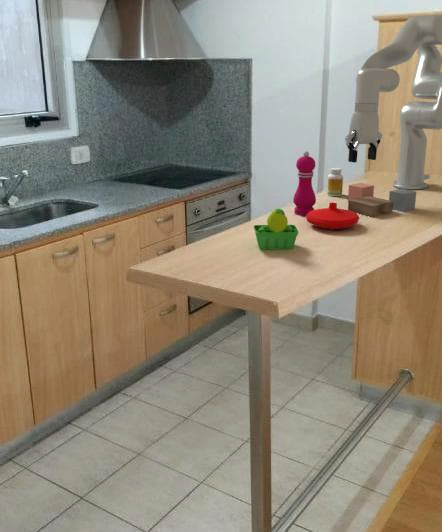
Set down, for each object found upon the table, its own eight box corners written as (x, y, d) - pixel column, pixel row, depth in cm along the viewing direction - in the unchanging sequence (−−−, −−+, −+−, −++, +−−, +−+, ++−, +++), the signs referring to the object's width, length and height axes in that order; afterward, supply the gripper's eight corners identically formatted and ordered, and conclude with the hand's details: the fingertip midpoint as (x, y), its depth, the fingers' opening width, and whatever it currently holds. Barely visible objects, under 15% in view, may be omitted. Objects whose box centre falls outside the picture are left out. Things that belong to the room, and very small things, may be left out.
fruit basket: (294, 241, 165) (295, 201, 162) (299, 251, 157) (300, 209, 153) (252, 242, 165) (253, 202, 161) (255, 252, 157) (256, 210, 153)
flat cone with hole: (365, 223, 183) (367, 200, 180) (348, 236, 170) (349, 212, 167) (317, 217, 190) (318, 195, 188) (297, 229, 177) (297, 206, 175)
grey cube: (399, 206, 202) (401, 188, 200) (414, 209, 198) (416, 191, 196) (388, 208, 199) (389, 191, 197) (403, 212, 195) (404, 194, 193)
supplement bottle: (343, 196, 216) (344, 169, 213) (328, 196, 216) (329, 170, 213) (340, 193, 221) (342, 167, 218) (326, 193, 221) (327, 167, 218)
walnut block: (368, 207, 202) (369, 195, 201) (392, 213, 194) (393, 201, 193) (347, 212, 197) (348, 200, 195) (371, 218, 189) (372, 206, 188)
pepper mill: (289, 214, 193) (291, 152, 186) (297, 209, 199) (299, 149, 192) (310, 217, 190) (313, 153, 183) (318, 212, 196) (321, 150, 189)
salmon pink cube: (359, 199, 212) (360, 182, 210) (372, 202, 208) (374, 185, 206) (347, 202, 209) (348, 185, 207) (361, 205, 204) (362, 187, 202)
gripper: (374, 107, 205) (370, 157, 211) (339, 108, 195) (336, 161, 201) (392, 108, 200) (387, 159, 205) (357, 110, 190) (353, 164, 195)
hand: (362, 160), depth 203 cm, fingers open, 9 cm apart
